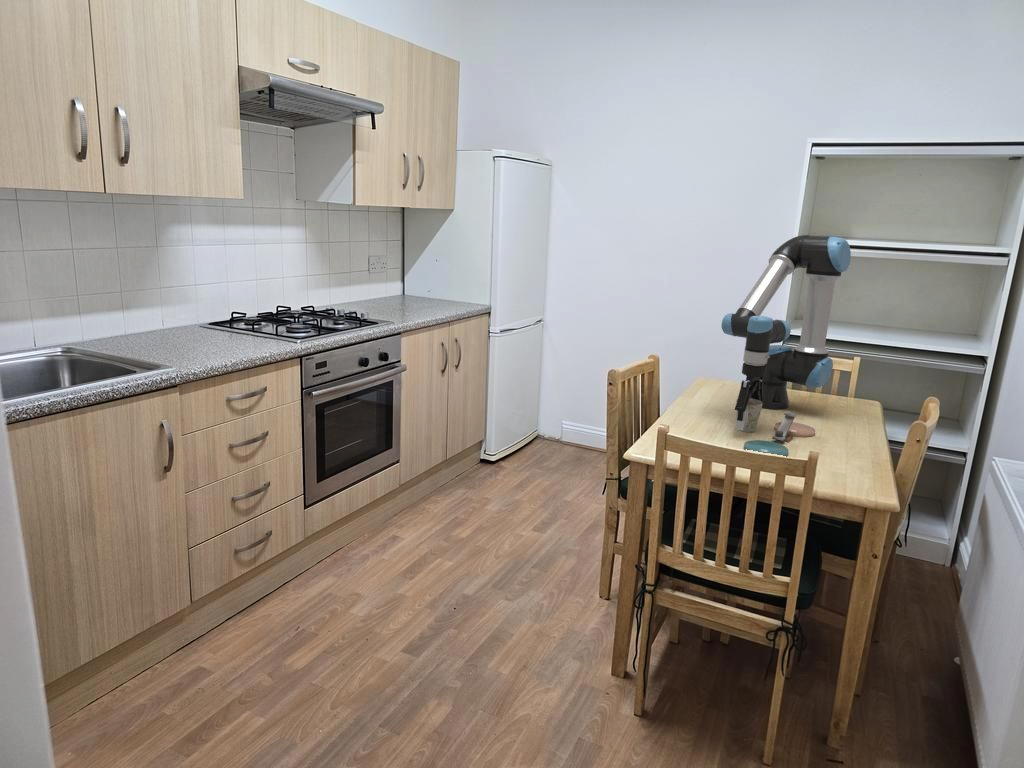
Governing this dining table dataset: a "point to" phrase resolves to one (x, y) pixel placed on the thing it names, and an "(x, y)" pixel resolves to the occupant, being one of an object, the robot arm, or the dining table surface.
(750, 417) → the mug
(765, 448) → the dish front
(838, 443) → the dining table surface
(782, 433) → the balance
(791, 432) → the dish back
